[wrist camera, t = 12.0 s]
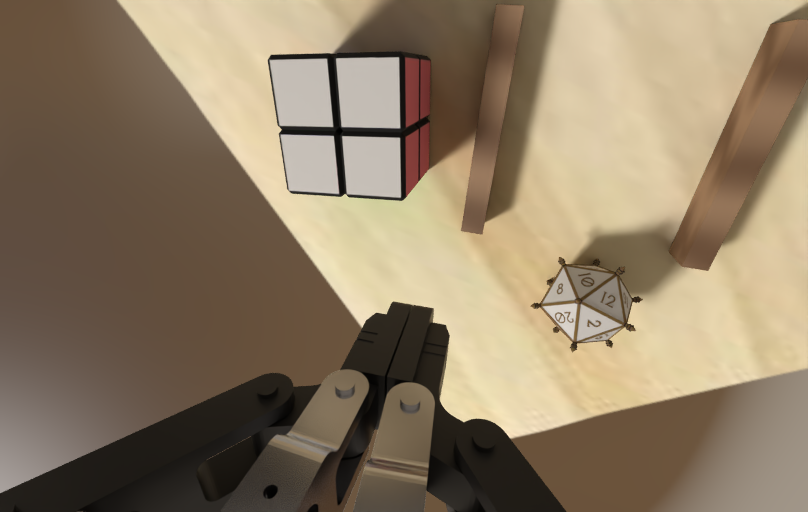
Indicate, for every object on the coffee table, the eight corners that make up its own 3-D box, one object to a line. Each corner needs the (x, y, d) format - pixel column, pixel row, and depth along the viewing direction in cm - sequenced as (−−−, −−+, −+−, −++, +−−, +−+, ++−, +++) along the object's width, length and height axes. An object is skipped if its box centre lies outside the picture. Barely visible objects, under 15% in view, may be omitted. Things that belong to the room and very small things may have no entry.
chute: (497, 9, 30) (496, 4, 27) (803, 26, 26) (837, 20, 23) (464, 220, 38) (461, 231, 35) (692, 255, 34) (708, 270, 32)
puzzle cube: (431, 56, 32) (404, 50, 24) (429, 171, 37) (405, 202, 28) (324, 58, 35) (263, 54, 26) (335, 167, 39) (286, 194, 30)
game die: (569, 280, 42) (544, 363, 38) (536, 234, 38) (504, 322, 34) (663, 283, 35) (644, 384, 31) (636, 228, 31) (611, 337, 27)
